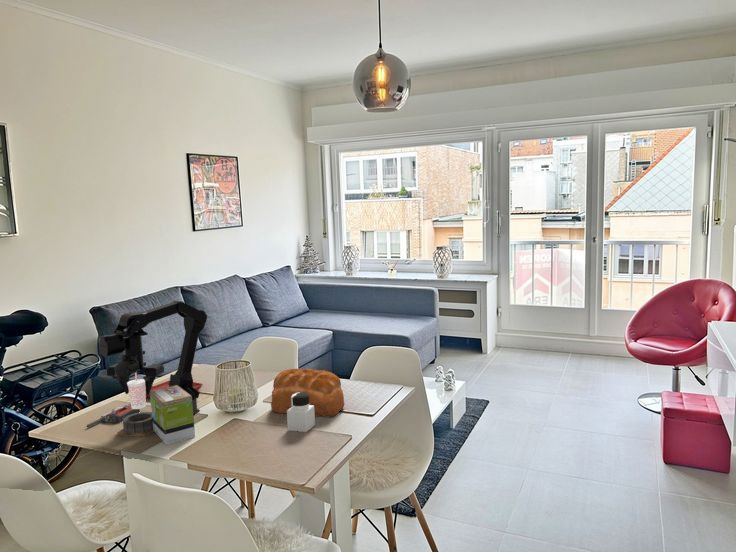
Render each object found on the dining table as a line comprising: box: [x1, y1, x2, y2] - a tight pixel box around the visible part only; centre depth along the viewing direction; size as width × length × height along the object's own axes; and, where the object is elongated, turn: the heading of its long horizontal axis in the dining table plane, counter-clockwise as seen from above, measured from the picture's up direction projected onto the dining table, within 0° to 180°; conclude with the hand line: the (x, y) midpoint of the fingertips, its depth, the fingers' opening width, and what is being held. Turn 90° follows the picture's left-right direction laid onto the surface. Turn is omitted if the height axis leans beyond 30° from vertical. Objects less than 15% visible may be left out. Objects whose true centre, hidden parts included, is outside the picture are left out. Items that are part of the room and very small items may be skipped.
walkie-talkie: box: [86, 403, 141, 428], centre depth 208 cm, size 9×4×20 cm
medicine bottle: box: [286, 392, 316, 433], centre depth 193 cm, size 7×7×12 cm
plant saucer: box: [146, 379, 204, 398], centre depth 235 cm, size 18×18×3 cm
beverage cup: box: [127, 373, 147, 409], centre depth 195 cm, size 6×6×14 cm
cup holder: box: [116, 411, 155, 437], centre depth 197 cm, size 11×11×4 cm
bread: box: [270, 368, 345, 417], centre depth 211 cm, size 14×26×16 cm, turn 71°
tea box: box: [149, 385, 196, 446], centre depth 191 cm, size 15×10×15 cm, turn 36°
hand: (137, 394), depth 196 cm, fingers closed on beverage cup, 7 cm apart
